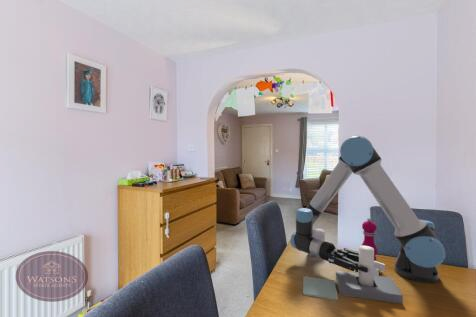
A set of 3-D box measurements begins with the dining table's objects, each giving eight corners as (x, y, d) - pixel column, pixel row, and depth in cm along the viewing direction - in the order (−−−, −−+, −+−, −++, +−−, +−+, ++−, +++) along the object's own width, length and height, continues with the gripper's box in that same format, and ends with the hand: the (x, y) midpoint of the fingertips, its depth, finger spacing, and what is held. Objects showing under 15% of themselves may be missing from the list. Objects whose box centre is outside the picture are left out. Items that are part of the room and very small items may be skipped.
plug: (371, 287, 93) (372, 246, 93) (374, 294, 89) (375, 251, 88) (357, 285, 95) (357, 244, 94) (359, 292, 90) (360, 250, 89)
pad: (334, 281, 97) (334, 280, 97) (338, 300, 86) (338, 298, 86) (303, 277, 100) (303, 276, 100) (302, 294, 89) (302, 293, 89)
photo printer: (319, 249, 128) (319, 226, 128) (325, 252, 125) (326, 228, 124) (305, 254, 123) (305, 230, 122) (312, 257, 119) (312, 232, 119)
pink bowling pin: (360, 261, 114) (361, 219, 114) (359, 255, 121) (360, 215, 120) (378, 264, 112) (379, 221, 111) (376, 257, 118) (376, 217, 118)
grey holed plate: (390, 284, 95) (390, 277, 95) (402, 303, 83) (402, 295, 83) (335, 277, 100) (336, 270, 100) (339, 294, 89) (339, 286, 89)
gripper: (333, 252, 111) (390, 272, 93) (310, 264, 100) (370, 290, 82) (333, 236, 111) (391, 253, 93) (310, 246, 99) (371, 268, 81)
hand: (381, 270), depth 87 cm, fingers closed on plug, 5 cm apart
